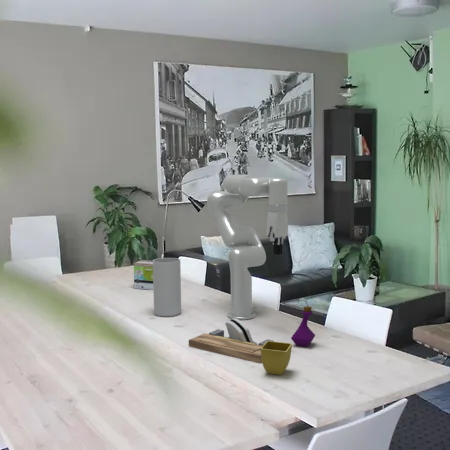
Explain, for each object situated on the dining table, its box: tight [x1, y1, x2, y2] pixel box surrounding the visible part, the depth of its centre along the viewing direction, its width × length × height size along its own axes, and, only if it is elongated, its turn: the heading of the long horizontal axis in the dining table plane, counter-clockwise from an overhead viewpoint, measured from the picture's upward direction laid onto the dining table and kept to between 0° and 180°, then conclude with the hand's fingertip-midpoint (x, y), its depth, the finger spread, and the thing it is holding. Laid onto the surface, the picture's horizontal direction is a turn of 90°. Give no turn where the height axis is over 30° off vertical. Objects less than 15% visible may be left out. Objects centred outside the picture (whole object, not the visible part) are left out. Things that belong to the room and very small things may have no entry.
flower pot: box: [261, 340, 293, 376], centre depth 190 cm, size 9×9×9 cm
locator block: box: [208, 329, 225, 337], centre depth 226 cm, size 6×3×3 cm, turn 144°
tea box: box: [133, 259, 154, 291], centre depth 317 cm, size 15×10×15 cm, turn 73°
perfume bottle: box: [290, 297, 316, 348], centre depth 217 cm, size 8×8×18 cm
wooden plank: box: [188, 333, 262, 364], centre depth 212 cm, size 10×32×3 cm, turn 54°
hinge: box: [224, 318, 258, 345], centre depth 221 cm, size 17×5×10 cm, turn 22°
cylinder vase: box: [152, 257, 182, 318], centre depth 263 cm, size 12×12×25 cm
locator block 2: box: [257, 339, 275, 346], centre depth 212 cm, size 6×3×3 cm, turn 144°
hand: (277, 254), depth 232 cm, fingers closed
